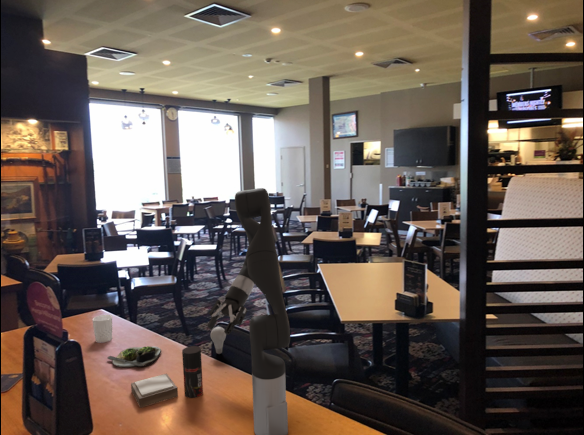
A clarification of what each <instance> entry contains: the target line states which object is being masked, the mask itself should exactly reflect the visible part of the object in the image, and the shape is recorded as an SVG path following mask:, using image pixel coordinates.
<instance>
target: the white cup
mask: <svg viewBox="0 0 584 435" xmlns="http://www.w3.org/2000/svg"><path fill="white" fill-rule="evenodd" d="M92 327H93V336H94V338H95V339H94V341H95V342H96V343H99V344H100V343H101V344H102V343H107V342H110V341H111V340H113V316H112V315H111V314H100V315H97V316H94V317H93V318H92Z"/></svg>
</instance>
